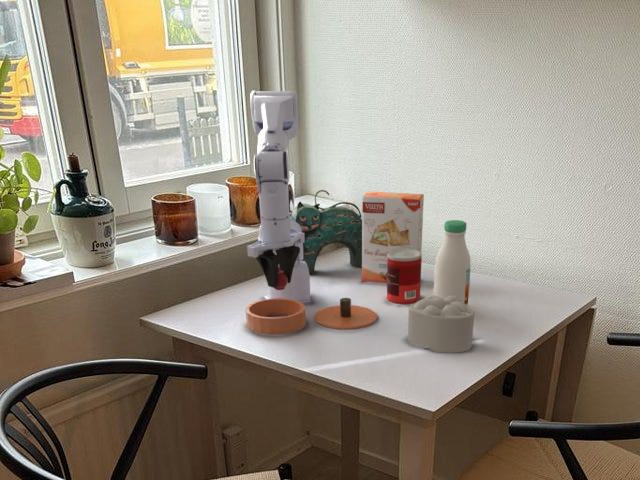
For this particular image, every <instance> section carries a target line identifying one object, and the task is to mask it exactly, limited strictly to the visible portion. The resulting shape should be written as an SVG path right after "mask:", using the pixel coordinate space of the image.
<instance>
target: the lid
mask: <svg viewBox="0 0 640 480" xmlns="http://www.w3.org/2000/svg"><path fill="white" fill-rule="evenodd" d="M377 318H378V317H377V313H376V312H375V311H374V310H373V309H371V308H369V307H365V306H361V305H354V304H353V305H352V299H351V298H350V297H342V298H340V299H339V305H333V306H328V307H324V308H322V309H320V310H317V312H316V313H315V314H314V321H315V322H316V323H317V324H319V325H320V326H322V327H326V328H330V329H334V330H336V329H337V330H354V329H360V328H366V327H368V326H370V325H373V324H374V323H375V322H376V321H377Z"/></svg>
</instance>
